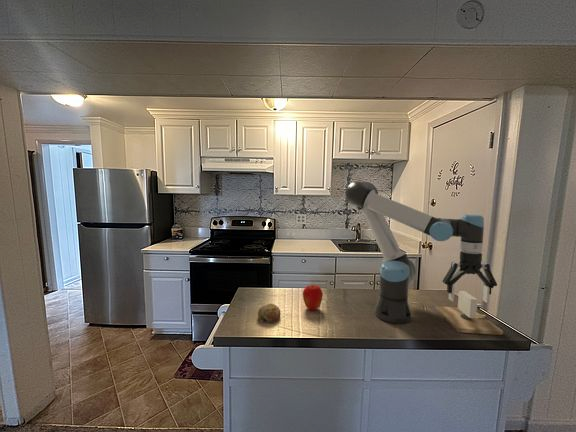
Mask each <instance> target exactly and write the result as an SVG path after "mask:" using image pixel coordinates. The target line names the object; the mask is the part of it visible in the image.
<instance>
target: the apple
mask: <svg viewBox="0 0 576 432" xmlns="http://www.w3.org/2000/svg"><path fill="white" fill-rule="evenodd" d="M323 295H324V293H323V290H322V288H321V287H320V286H319V285H314V284H309V285H307V286H305V288H304V289H303V291H302V298H303V303H304V305H305V307H306V308H307V309H308V310H309V311H312V312H313V311H314V312H315V311H317V310H318V309H319V308H320V307H321V304H322V301H323Z"/></svg>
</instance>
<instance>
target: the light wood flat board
mask: <svg viewBox="0 0 576 432" xmlns="http://www.w3.org/2000/svg"><path fill="white" fill-rule="evenodd" d="M435 310H436V312H437V313H439V315H441V316H442V318H443V319H445V320H446V321H447V322H448V323H449V324H450V325H451V326H452V327H453V328H454V329H455V331H457V332H458V333H467V334H479V335H480V334H484V335H496V336H497V335H499V336H503V335H504V331H503V330H502V329H501V328H499V327H498V326H496V325H495V324H494V323H493V322H491V321H490V320H489V319H487V318H486V317H480V316H476V318H472V319H471V320H467V319H463V318H461V310H459V309H458V306H456V307H455V306H443V305H442V306H441V305H439V306H438V305H437V306H436V305H435ZM476 314H477V315H482V314H481V313H479V312H478V310H476Z"/></svg>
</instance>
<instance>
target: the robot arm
mask: <svg viewBox="0 0 576 432" xmlns="http://www.w3.org/2000/svg"><path fill="white" fill-rule="evenodd" d="M344 192H345V193H344V195H345V198H346V201H347V202H348V203H349V204H351V205H353V206H355V207H356V208H357V210H358V212H359V213H362V215H363V216H364V218H365V220H366V223H367V225H368V226H369V229H370V231H371V233H372V236H373V237H374V239H375V241H376V244H377V246H378V248H379V250H380V252H381V254H382V257H383V258H382V264H381V265H380V269H379V296H378V299H377V301H376V303H375V307H374V315H375V316H376V317H377V318H378V319H380V320H382V321H385V322H388V323H390V324H392V323H393V324H397V325H398V324H400V325H401V324H407V323H409V322H411V321H412V311H411V308H410V304H409V285H410V283H411V282H412V281H413V280H414V278H415V276H416V266H415V263H413V261H412V260H411V259H410V258H409V257H408V255H407V252H405V251H402V250H401V248H400V245H399V244H398V242H397V239H396V238H395V236H394V234H393V232H392V230H391V227H390V226H389V223H388V221H387V219H386V217H387V218H389V219H391V220H394V221H396V222H397V223H401V224H403V225H405V226H408V227H410V228H412V229H414V230H417V231H418V232H421V233H423V234H425V235H427V236H429V237H431V238H432V239H433V240H435V241H437V242H445V241H448V240H450V239H451V238H452V237H455V238H456V237H459V238H460V247H459V250H460V252H459V262H455V261H452V262H451V264H450V268H449V270H448V271H447V272H446V275H444V278H443V279H442V281H441V282H442V283H443V284H445V285H446V292H447V293H448V300H449V301H451V302H452V303H453V302H454V301H455V286H454V285H455V284H456V283H457V281H459V280H460V279H461V278H462V277H463V276H465V275H477V277H478V278H479V279H480V280H481V281H482V282H483V284H484V285H483V288H482V301H483V302H485V303H487V304H489V303H490V301H489V300H490V295H491V294H492V289H494V287H497V286H498V283H497V281H496V279H495V277H494V275H493V272H492V271H491V266H490V264H489V263H486V262H483V263H482V261H483V254H482V252H483V242H484V230H485V225H484V224H485V221H484V220H485V219H484V218H485V217H484V216H483V215H480V214H463V215H462V216H461V218H457V219H456V218H440V217H434V216H433V215H430V214H428V213H425V212H422V211H421V210H418V209H414V208H413V207H411V206H408V205H405V204H403V203H400V202H398V201H395V200H393V199H390V198H389V197H385V196H383V195H380V194H379V192H378V189H377V187H376V186H375V185H374V184H373V183H370V182H368V181H353V182H351V183H349V184H348V185H347V187H346V189H345V191H344ZM481 269H483V272H484V273H485V275H486V276H485V275H484V274H483V272H482V271H481ZM486 277H487V278H486Z"/></svg>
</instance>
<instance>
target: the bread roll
mask: <svg viewBox="0 0 576 432" xmlns="http://www.w3.org/2000/svg"><path fill="white" fill-rule="evenodd" d="M257 316H258V320H259V321H260V323H263V324H264V323H265V324H275V323H277V322H279V321H280V319H281V309H280V307H279V306H278V305H276V304H274V303H268V304H265V305H262V306H260V308H259V309H258V311H257Z"/></svg>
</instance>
